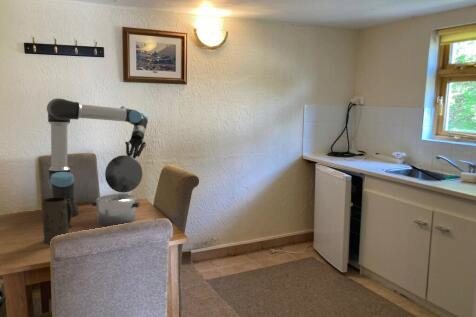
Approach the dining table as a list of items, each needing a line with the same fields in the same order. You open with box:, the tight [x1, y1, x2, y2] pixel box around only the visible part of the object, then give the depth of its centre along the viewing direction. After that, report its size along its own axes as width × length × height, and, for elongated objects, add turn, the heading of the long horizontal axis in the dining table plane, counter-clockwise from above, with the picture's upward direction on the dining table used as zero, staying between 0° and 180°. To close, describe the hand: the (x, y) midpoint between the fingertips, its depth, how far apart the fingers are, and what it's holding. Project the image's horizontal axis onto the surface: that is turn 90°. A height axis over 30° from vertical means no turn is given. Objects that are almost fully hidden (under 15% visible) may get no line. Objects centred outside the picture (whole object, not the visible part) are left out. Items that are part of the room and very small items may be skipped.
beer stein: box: [41, 197, 73, 245], centre depth 181 cm, size 15×11×20 cm
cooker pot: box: [91, 192, 141, 227], centre depth 210 cm, size 25×21×12 cm
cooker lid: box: [104, 154, 143, 194], centre depth 220 cm, size 21×21×4 cm
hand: (130, 165), depth 229 cm, fingers closed
